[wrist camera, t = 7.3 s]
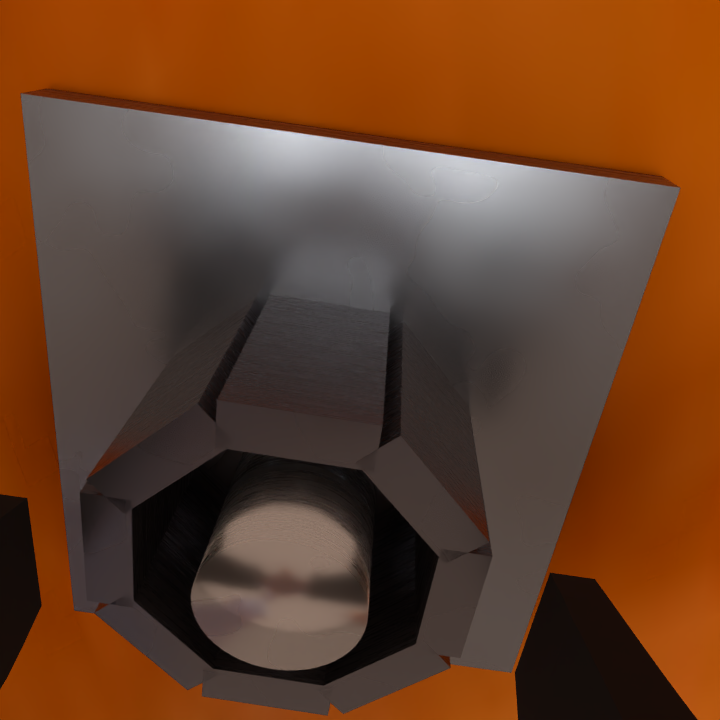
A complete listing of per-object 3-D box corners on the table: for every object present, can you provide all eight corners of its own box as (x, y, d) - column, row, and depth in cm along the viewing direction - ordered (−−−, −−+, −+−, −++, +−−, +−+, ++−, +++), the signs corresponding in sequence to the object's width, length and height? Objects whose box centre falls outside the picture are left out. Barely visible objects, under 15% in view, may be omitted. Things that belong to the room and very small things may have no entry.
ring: (430, 571, 14) (437, 732, 11) (163, 530, 14) (92, 679, 11) (493, 329, 11) (526, 448, 8) (165, 278, 11) (71, 377, 8)
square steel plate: (506, 643, 16) (543, 874, 11) (89, 583, 16) (-30, 793, 11) (662, 176, 11) (832, 280, 6) (46, 88, 11) (-196, 133, 6)
